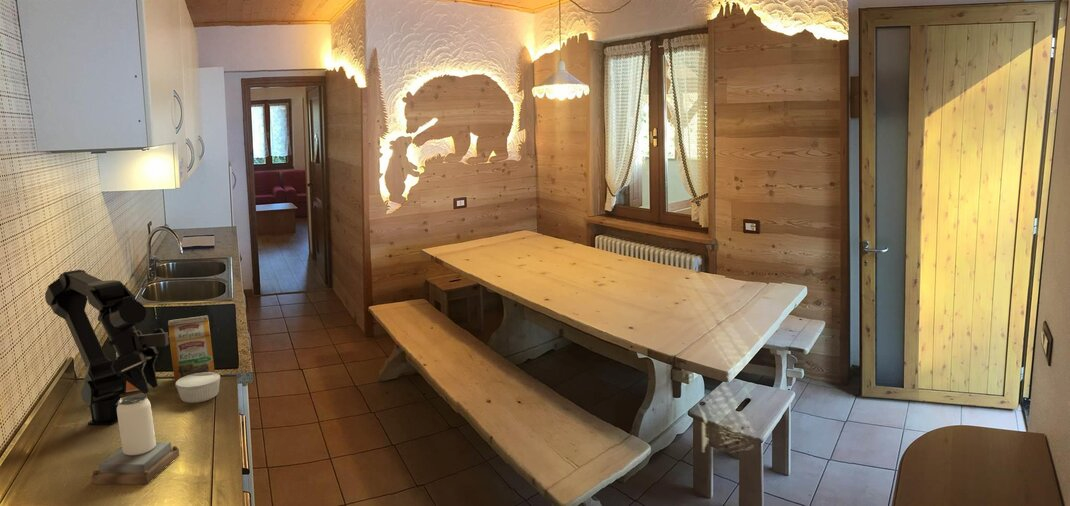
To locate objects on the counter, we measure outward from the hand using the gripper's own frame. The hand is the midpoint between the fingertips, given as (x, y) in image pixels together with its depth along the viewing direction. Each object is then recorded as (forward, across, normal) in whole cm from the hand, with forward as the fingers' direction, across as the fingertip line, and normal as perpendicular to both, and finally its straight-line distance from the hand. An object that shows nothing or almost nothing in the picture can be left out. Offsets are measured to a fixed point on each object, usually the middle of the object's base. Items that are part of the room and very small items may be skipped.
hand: (151, 389), depth 163 cm
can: (+11, -14, +4) cm, 18 cm away
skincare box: (0, +37, +13) cm, 39 cm away
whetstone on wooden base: (+14, -14, +6) cm, 21 cm away
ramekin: (+9, +25, -4) cm, 27 cm away
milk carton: (+5, +40, -2) cm, 40 cm away
